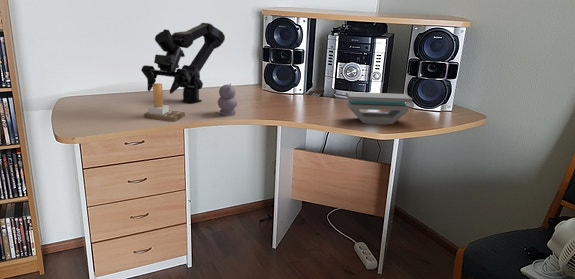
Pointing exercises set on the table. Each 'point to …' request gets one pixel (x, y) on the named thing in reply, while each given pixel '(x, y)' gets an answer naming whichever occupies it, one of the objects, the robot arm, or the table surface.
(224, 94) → the grey stacked rounded piece
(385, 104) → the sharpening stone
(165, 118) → the walnut board
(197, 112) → the table surface
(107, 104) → the table surface
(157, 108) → the rubber stamp
